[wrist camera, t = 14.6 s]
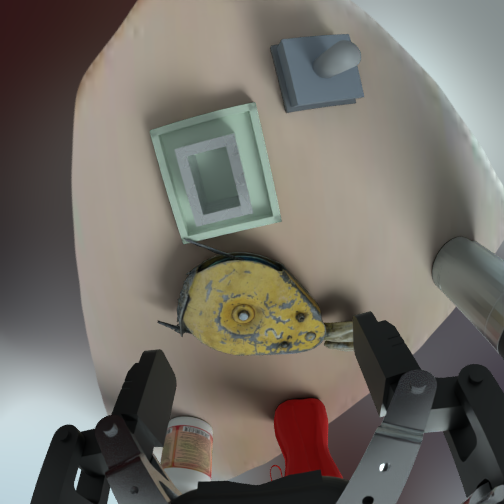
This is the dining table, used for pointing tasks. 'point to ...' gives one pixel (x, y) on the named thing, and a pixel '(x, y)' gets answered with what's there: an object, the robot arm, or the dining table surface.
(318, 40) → the grey peg stand
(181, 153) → the gray open box
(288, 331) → the pulley block
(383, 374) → the robot arm
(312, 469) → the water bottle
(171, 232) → the dining table surface
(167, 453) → the fruit juice
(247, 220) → the tray
